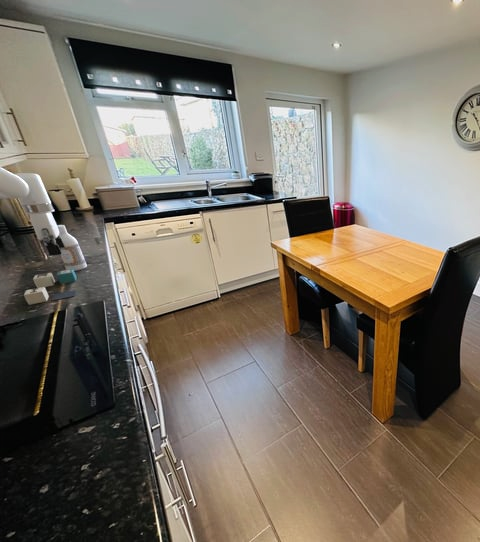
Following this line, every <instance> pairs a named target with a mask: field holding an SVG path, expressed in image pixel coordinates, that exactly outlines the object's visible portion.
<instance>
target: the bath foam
mask: <svg viewBox="0 0 480 542" xmlns="http://www.w3.org/2000/svg"><path fill="white" fill-rule="evenodd" d="M57 227H58V229H59V235H60V238H61V239H62V241H63V244H64V246H65V247H64V248H60V251H61V253H62V254H60V255H59V256H60V258H61V261H62V263H63V266H64V268H65V270H71V269H74V272H77V271H80V270H81V271H82V270H84V269H86V268H88V265H87V261H86V259H85V257H84V254H83V251H82V250H81V247H80V244H79V242H78V240H77V239H76V238H75V237H74V236H72V235H71V234H69V233H68V231H67V228H66V226H65V224H57Z"/></svg>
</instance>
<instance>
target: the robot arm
mask: <svg viewBox="0 0 480 542" xmlns="http://www.w3.org/2000/svg"><path fill="white" fill-rule="evenodd" d="M0 199H12V200H18V201H19V203H20V205H21V208H22V209H23V212H24V214H26V215H28V216H29V219H30V222H31V224H32V227H33V230H34V232H35V235H36V237H37V239H38V241H43V243H44V246H45V248H46V250H47V252H48V255H49V256H51V257H52V256H60V254H62V253H61V251H60V248H64V247H65V246H64V244H63V241H62V239H61V238H60V235H59V229H58V227H57V225H58V224H57V222H56V220H55V218H54V216H53V212H55V209H54V207H53V204H52V201H51V199H50V197H49V195H48V192H47V190H46V187H45V185H44V183H43V181H42V179H41V176H40V175H38V174H36V173H34V172H20V173H13V172H11V171H8V170H7V169H5V168H3V167H1V166H0Z"/></svg>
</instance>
